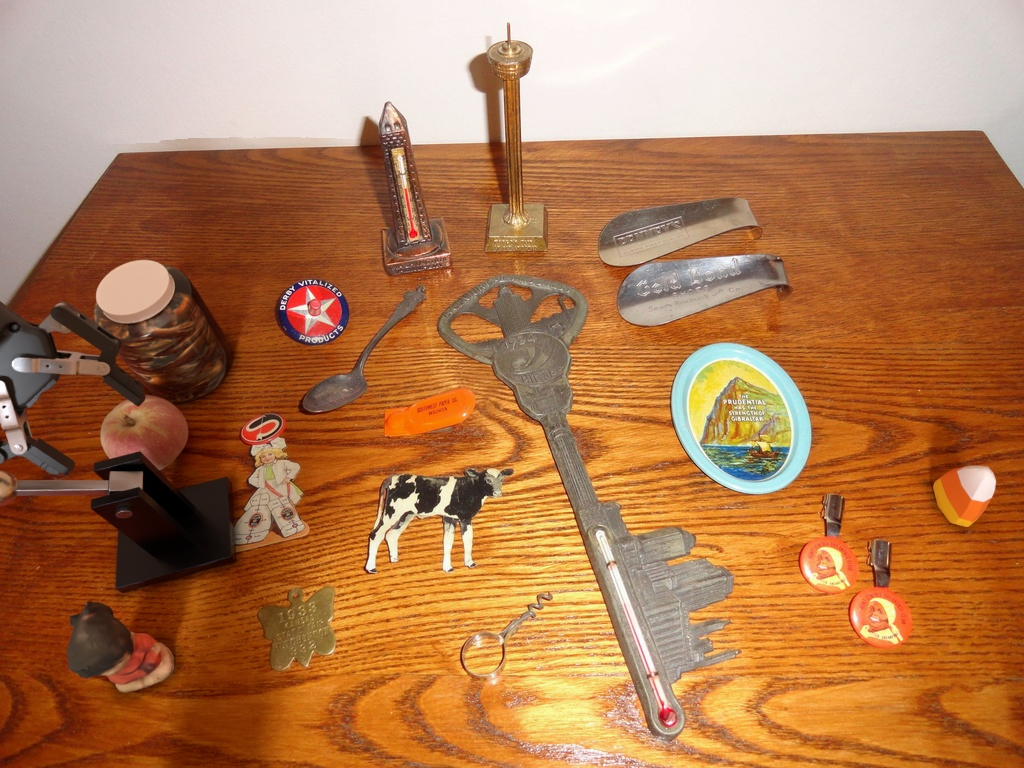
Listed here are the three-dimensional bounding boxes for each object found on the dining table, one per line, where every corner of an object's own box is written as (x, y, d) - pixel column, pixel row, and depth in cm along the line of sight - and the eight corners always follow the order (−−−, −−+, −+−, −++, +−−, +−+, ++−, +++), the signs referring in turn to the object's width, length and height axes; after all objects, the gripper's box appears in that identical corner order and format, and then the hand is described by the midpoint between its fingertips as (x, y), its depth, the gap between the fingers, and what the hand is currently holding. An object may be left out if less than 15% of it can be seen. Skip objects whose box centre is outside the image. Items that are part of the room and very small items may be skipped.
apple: (213, 436, 84) (185, 400, 77) (162, 497, 80) (127, 464, 73) (160, 410, 87) (128, 373, 80) (107, 467, 82) (69, 433, 76)
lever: (-27, 513, 61) (-29, 495, 59) (-22, 482, 63) (-24, 463, 61) (139, 509, 68) (142, 493, 66) (140, 481, 70) (143, 464, 68)
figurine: (101, 673, 69) (27, 641, 59) (146, 625, 71) (82, 587, 62) (141, 712, 67) (71, 686, 57) (187, 661, 69) (127, 628, 59)
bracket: (122, 593, 73) (44, 544, 62) (125, 510, 79) (54, 450, 68) (236, 561, 75) (180, 508, 64) (231, 481, 80) (180, 419, 69)
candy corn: (924, 482, 77) (959, 446, 70) (950, 479, 77) (988, 443, 70) (948, 532, 73) (988, 500, 67) (976, 529, 73) (1018, 497, 67)
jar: (253, 349, 91) (207, 269, 79) (190, 416, 86) (130, 341, 74) (187, 318, 95) (134, 237, 83) (123, 380, 89) (55, 303, 77)
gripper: (-164, 387, 51) (39, 510, 59) (-16, 252, 53) (164, 389, 60) (-123, 363, 58) (55, 476, 65) (8, 243, 59) (167, 368, 67)
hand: (107, 435), depth 63 cm, fingers open, 8 cm apart
